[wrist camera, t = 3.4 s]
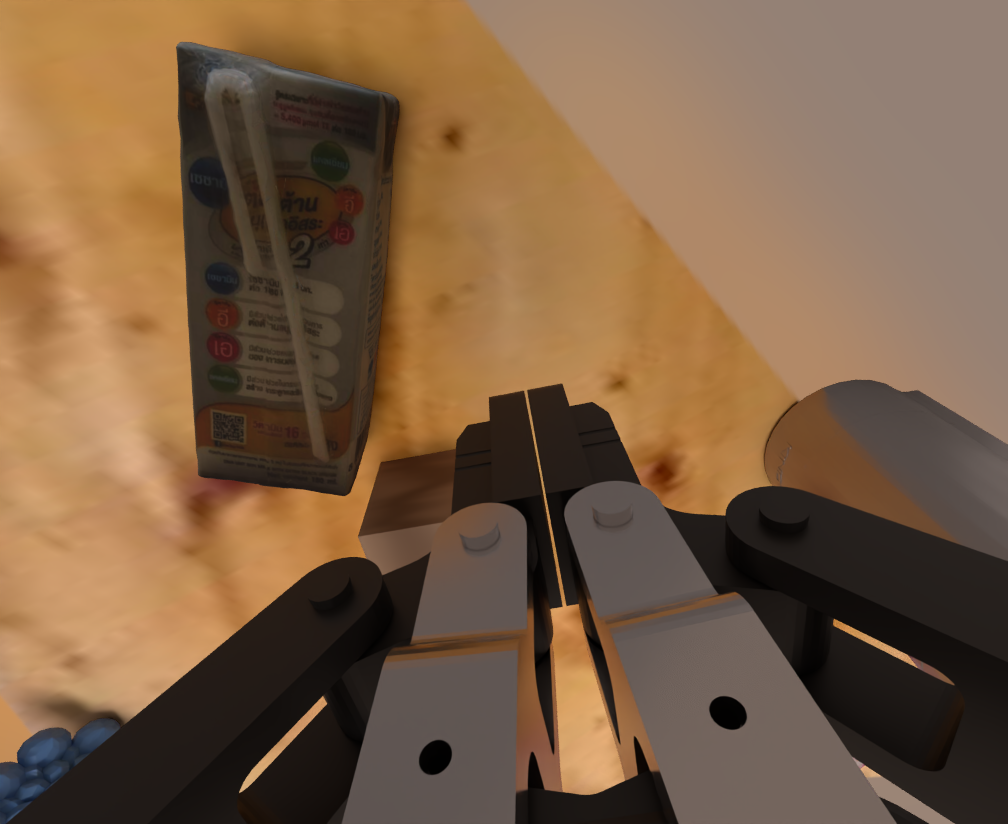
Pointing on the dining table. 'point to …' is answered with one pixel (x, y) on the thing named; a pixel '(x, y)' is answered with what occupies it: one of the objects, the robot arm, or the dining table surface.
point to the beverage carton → (282, 265)
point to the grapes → (47, 762)
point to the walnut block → (407, 509)
